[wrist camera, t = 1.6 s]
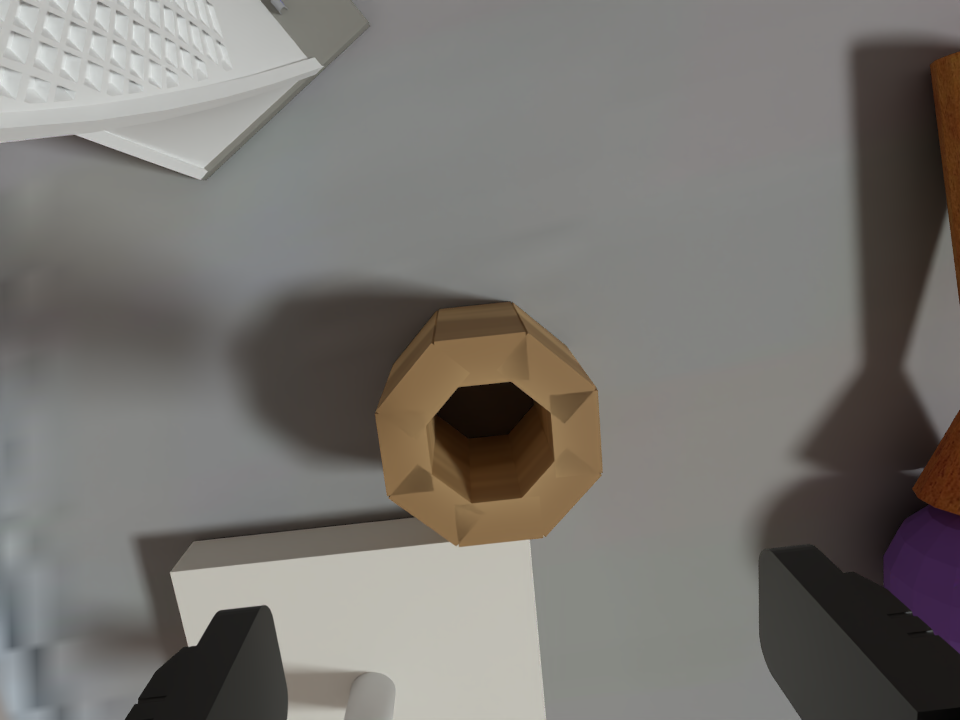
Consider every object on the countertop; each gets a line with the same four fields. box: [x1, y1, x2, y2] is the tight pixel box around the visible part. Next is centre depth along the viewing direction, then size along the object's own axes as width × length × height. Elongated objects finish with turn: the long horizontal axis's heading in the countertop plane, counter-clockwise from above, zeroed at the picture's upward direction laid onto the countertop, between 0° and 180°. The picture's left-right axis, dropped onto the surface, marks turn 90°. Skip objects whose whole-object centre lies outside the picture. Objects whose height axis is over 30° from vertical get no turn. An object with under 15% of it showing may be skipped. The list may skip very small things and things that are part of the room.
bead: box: [375, 302, 603, 547], centre depth 20 cm, size 6×6×5 cm
